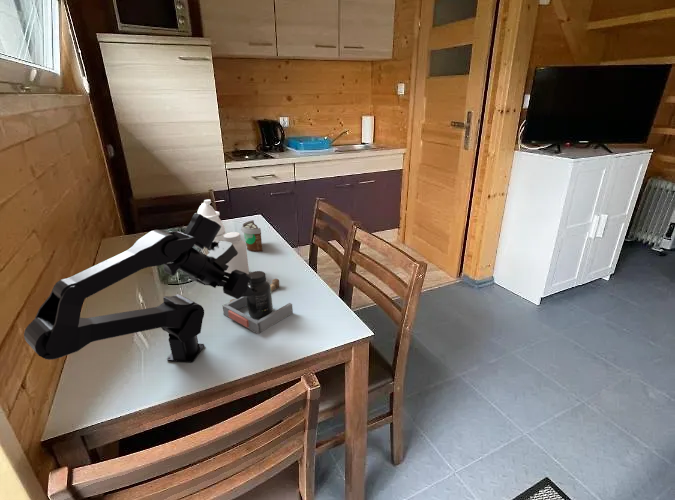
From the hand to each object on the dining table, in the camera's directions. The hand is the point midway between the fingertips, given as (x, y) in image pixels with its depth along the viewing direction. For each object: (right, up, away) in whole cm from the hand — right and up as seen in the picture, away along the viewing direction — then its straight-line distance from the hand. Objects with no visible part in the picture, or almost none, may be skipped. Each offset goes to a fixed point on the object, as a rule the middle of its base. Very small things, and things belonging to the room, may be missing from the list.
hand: (240, 289), depth 99 cm
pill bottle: (-9, +2, +30) cm, 31 cm away
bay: (+3, -7, +7) cm, 11 cm away
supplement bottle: (+4, -7, +8) cm, 11 cm away
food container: (-9, +11, +52) cm, 54 cm away
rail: (+1, -4, +16) cm, 16 cm away
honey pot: (-29, +14, +62) cm, 70 cm away
